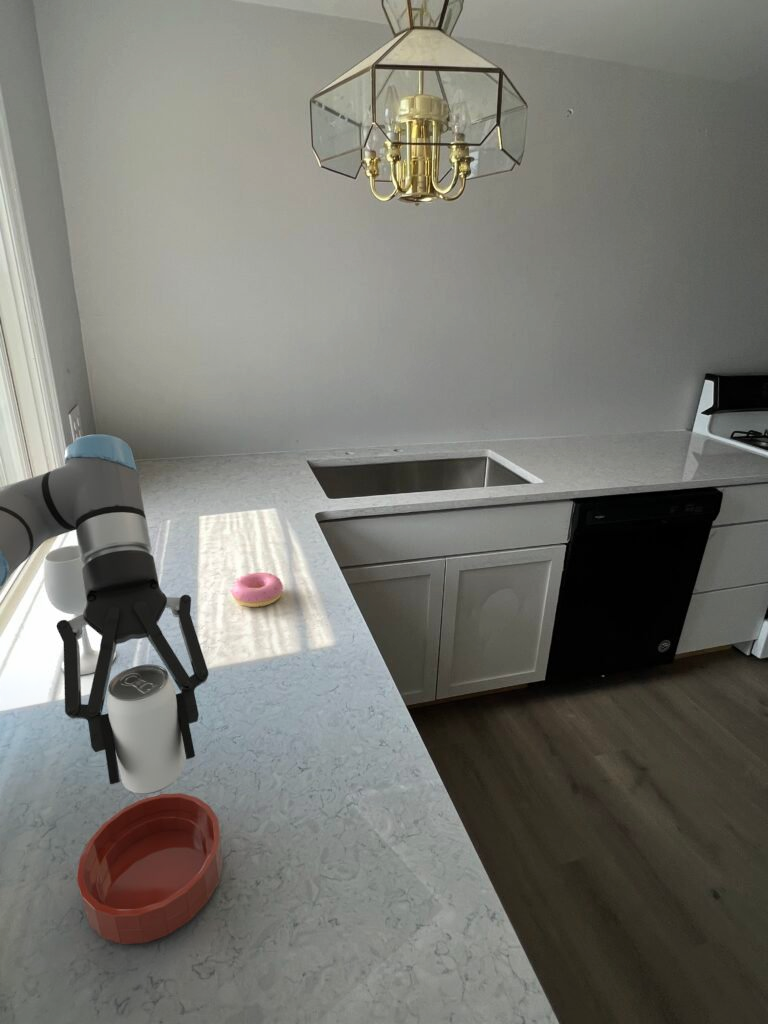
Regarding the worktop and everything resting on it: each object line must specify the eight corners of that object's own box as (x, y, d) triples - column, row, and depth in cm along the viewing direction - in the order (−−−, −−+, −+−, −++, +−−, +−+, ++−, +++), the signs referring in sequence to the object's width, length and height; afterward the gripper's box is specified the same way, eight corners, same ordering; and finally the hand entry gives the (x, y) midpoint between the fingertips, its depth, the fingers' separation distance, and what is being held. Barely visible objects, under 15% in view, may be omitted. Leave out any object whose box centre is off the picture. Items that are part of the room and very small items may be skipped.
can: (159, 741, 65) (145, 654, 60) (198, 764, 62) (186, 674, 57) (108, 779, 59) (89, 687, 55) (148, 806, 56) (131, 711, 52)
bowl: (72, 870, 63) (63, 838, 61) (195, 803, 71) (190, 774, 70) (106, 982, 53) (97, 948, 51) (244, 889, 61) (241, 857, 59)
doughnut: (282, 583, 127) (281, 566, 125) (284, 607, 117) (283, 590, 115) (232, 587, 124) (231, 570, 123) (231, 612, 114) (229, 595, 113)
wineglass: (68, 682, 93) (42, 570, 86) (57, 657, 99) (32, 551, 92) (122, 662, 98) (102, 555, 91) (108, 640, 105) (89, 538, 97)
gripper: (203, 556, 71) (244, 741, 64) (26, 588, 63) (49, 806, 55) (207, 533, 65) (254, 735, 57) (11, 565, 56) (35, 807, 49)
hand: (153, 769), depth 56 cm, fingers closed on can, 6 cm apart
